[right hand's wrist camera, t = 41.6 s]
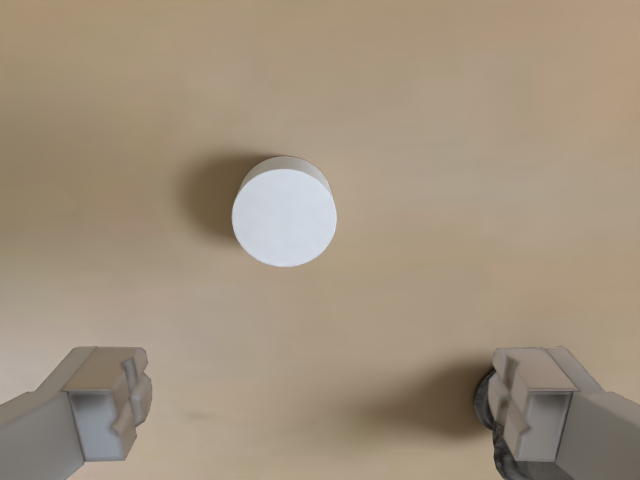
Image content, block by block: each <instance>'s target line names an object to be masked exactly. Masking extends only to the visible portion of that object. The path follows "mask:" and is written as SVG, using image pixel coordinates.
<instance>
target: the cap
mask: <svg viewBox="0 0 640 480" xmlns="http://www.w3.org/2000/svg"><path fill="white" fill-rule="evenodd" d="M336 219H337V216H336V209H335V205H334V201H333V197H332V193H331V190H330V187H329V184H328V182H327V180H326V178H325V177H324V176H323V174H322V173H321V172H320V171H319V170H318V169H317V168H316V167H315V166H313V165H312V164H310V163H309V162H307V161H305V160H302V159H299V158H296V157H290V156H279V157H273V158H270V159H267V160H265V161H262V162H261V163H259V164H257V165H256V166H255V167H253V168H252V169H251V170H250V171H249V172H248V174H247V175H246V176H245V178H244V180H243V182H242V184H241V186H240V189H239V191H238V194H237V196H236V199H235V201H234V204H233V208H232V226H233V230H234V233H235V236H236V238H237V240H238V242H239V243H240V245H241V246H242V247H243V248H244V250H245V251H246V252H247V253H249V254H250V255H251V256H252V257H254V258H255V259H257V260H259V261H261V262H263V263H265V264H268V265H272V266H277V267H292V266H297V265H301V264H304V263H307V262H309V261H311V260H312V259H314V258H315V257H317V256H318V255H319V254H321V253H322V252H323V251H324V250H325V248H326V247H327V246H328V244H329V243H330V241H331V239H332V237H333V235H334V232H335V228H336Z"/></svg>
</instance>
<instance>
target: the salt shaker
mask: <svg viewBox="0 0 640 480" xmlns="http://www.w3.org/2000/svg"><path fill="white" fill-rule="evenodd" d="M496 372H497V371H496V370H493V371H492V372H491V373H490V374H489V375H487V376H486V377H485V379H484V380H483V381H482V382H481V384H480V385H479V387H478V389H477V391H476V393H475V397H474V409H475V413H476V416H477V417H478V419H479V420H480V422H481V423H482V424H483V425H485V426H486V427H487V428H488V429H490V430H493V444H494V449H495V450H494V461H495V466H496V469H497V470H498V472H499V473H500V475H501V476H502V478H503V479H505V480H574V479H573V478H572V477H571V476H570V475H568V474H567V473H566V472H565V471H564V470H562V469H561V468H560V467H559V466H558V465H556V462H542V461H515V459H514V457H513V455H512V453H511V451H510V449H509V447H508V445H507V443H506V441H505V439H504V437H503V434H504V427H503V426H502V425H500V424H499V423H497V422H496V421H495V419H494V417H493V415H492V413H491V410H490V406H489V401H488V385H489V379H490V378H491V377H492V376H493V375H494V374H495V373H496Z"/></svg>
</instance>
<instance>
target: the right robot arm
mask: <svg viewBox="0 0 640 480" xmlns="http://www.w3.org/2000/svg"><path fill="white" fill-rule="evenodd" d="M147 364H148V360H147V355H146V351H145V350H144V349H143V348H137V347H76V348H73V349H72V350H71V351H70V353H69V354H68V355H67V356H66V357H65V358H64V359H63V360H62V361H61V363H60V364H59V365H58V366H57V367H56V368H55V369H54V370H53V372H52V373H51V374H50V375H49V376H48V377H47V378H46V379H45V380H44V382H43V383H42V384H41V385H40V386H39V387H38V388H37V389H36V390H35V392H26V393H24V394H22V395H20V396H18V397H16V398H14V399H12V400H10V401H8V402H6V403H4V404H2V405H0V480H66V479H67V478H68V477H69V476H71V475H72V474H73V473H74V472H75V471H77V470H78V469H79V468H80V467H81V466H83V465H84V462H98V461H125V459H126V457H127V455H128V453H129V451H130V449H131V447H132V445H133V443H134V441H135V439H136V437H137V434H136V427H137V426H138V425H140V424H141V423H143V422H144V421H145V419H146V417H147V415H148V413H149V410H150V405H151V401H152V384H151V379H150V378H149V377H148V376H147V375H146V374H145V373H144V372H143V371H144V370H145V368H146V366H147ZM492 364H493V366H494V368H495V370H496V371H497V372H496V373H495V374H494V375H493V376H492V377H491V378H490V379H489V385H488V401H489V406H490V410H491V413H492V415H493V417H494V419H495V421H496V422H497V423H499V424H500V425H502V426H503V427H504V434H503V437H504V439H505V441H506V443H507V445H508V447H509V449H510V451H511V453H512V455H513V457H514V459H515V461H542V462H556V465H558V466H559V467H560V468H561V469H562V470H564V471H565V472H566V473H567V474H568V475H570V476H571V477H572V478H573V479H574V480H640V405H638V404H636V403H634V402H632V401H630V400H628V399H626V398H624V397H622V396H620V395H618V394H616V393H614V392H605V391H604V389H603V388H602V387H601V386H600V385H599V384H598V383H597V382H596V380H595V379H594V378H593V377H592V376H591V375H590V374H589V373H588V372H587V370H586V369H585V368H584V367H583V366H582V365H581V364H580V363H579V361H578V360H577V359H576V358H575V357H574V356H573V355H572V354H571V353H570V351H569V350H568V349H566V348H564V347H562V346H557V347H539V348H496V350H495V352H494V354H493V360H492Z"/></svg>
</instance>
